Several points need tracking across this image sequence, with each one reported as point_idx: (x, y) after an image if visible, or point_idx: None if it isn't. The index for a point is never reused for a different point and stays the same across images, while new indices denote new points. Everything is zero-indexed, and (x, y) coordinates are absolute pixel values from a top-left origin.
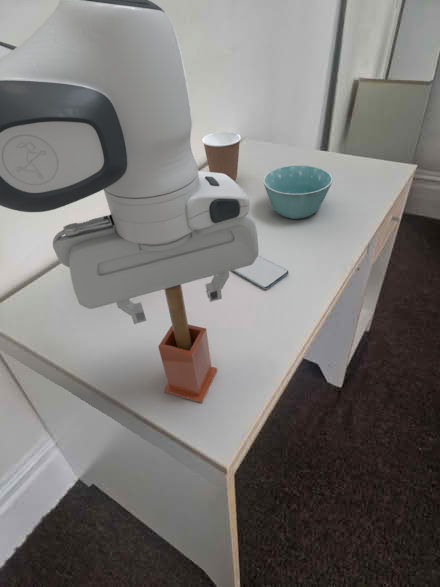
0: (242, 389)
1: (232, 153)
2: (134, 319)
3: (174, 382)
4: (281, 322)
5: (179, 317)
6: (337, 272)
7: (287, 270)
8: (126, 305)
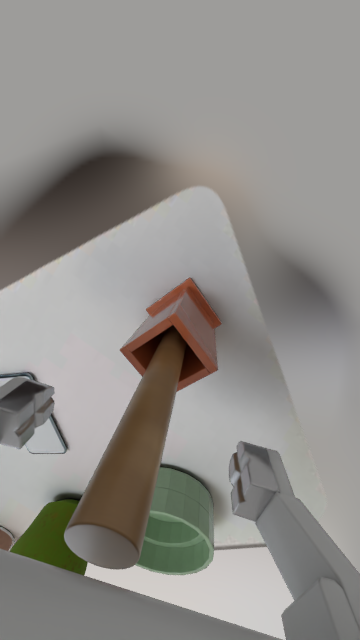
0: (134, 262)
1: None
2: (280, 469)
3: (208, 319)
4: (37, 319)
5: (154, 395)
6: None
7: None
8: (324, 569)
